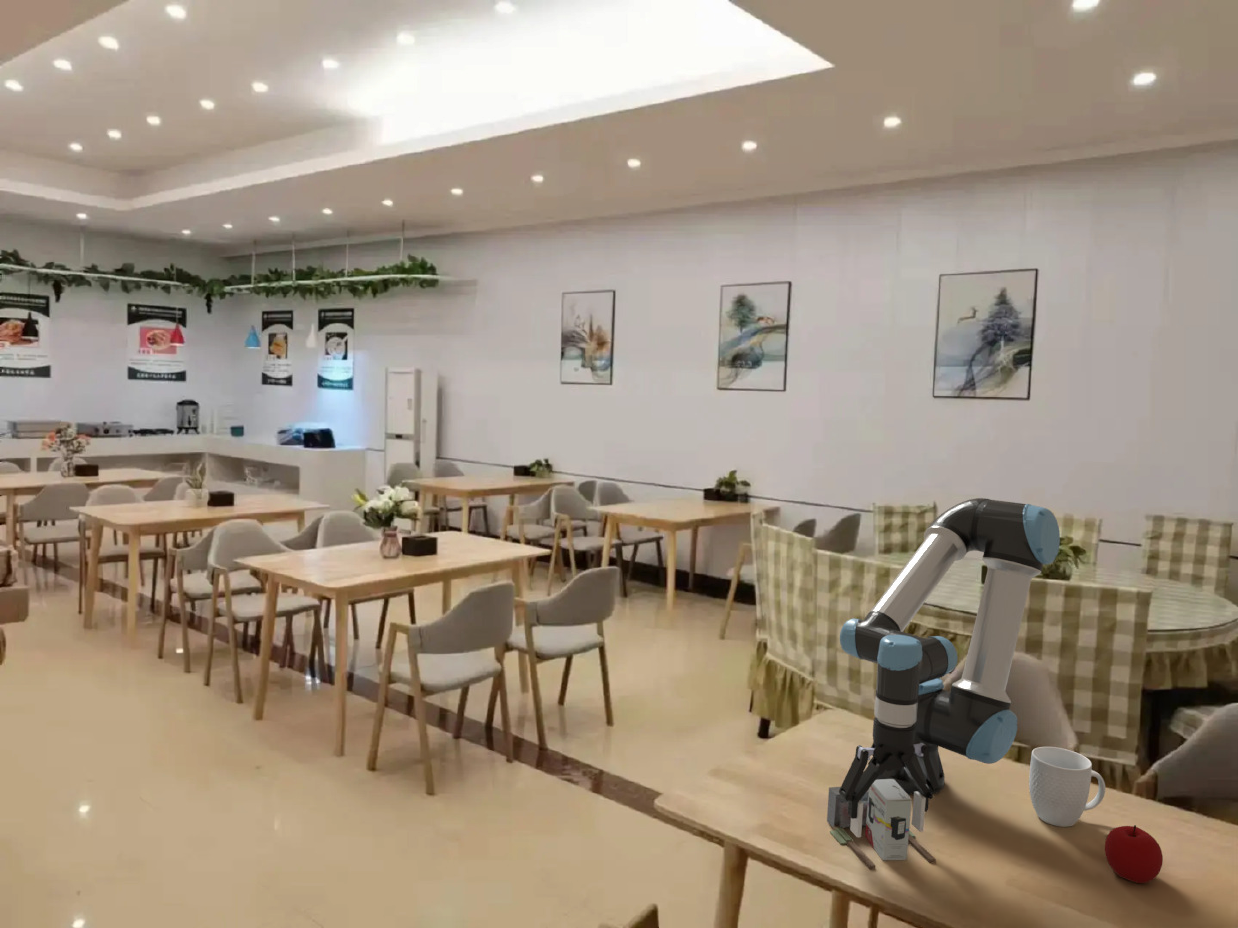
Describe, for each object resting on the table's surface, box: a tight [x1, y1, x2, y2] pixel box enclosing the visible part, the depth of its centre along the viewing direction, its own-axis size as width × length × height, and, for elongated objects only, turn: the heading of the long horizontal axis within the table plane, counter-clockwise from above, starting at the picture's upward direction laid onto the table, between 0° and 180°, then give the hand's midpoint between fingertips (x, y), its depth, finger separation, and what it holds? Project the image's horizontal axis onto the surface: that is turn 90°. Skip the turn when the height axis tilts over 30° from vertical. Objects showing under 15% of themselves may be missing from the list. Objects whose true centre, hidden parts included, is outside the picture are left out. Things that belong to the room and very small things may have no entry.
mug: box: [1028, 746, 1106, 828], centre depth 177 cm, size 15×11×13 cm
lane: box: [829, 826, 937, 870], centre depth 165 cm, size 16×14×1 cm
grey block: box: [826, 786, 869, 829], centre depth 172 cm, size 13×4×7 cm, turn 103°
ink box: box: [864, 779, 913, 861], centre depth 163 cm, size 9×5×12 cm, turn 7°
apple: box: [1104, 825, 1164, 884], centre depth 157 cm, size 9×9×10 cm
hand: (886, 830), depth 164 cm, fingers open, 12 cm apart
